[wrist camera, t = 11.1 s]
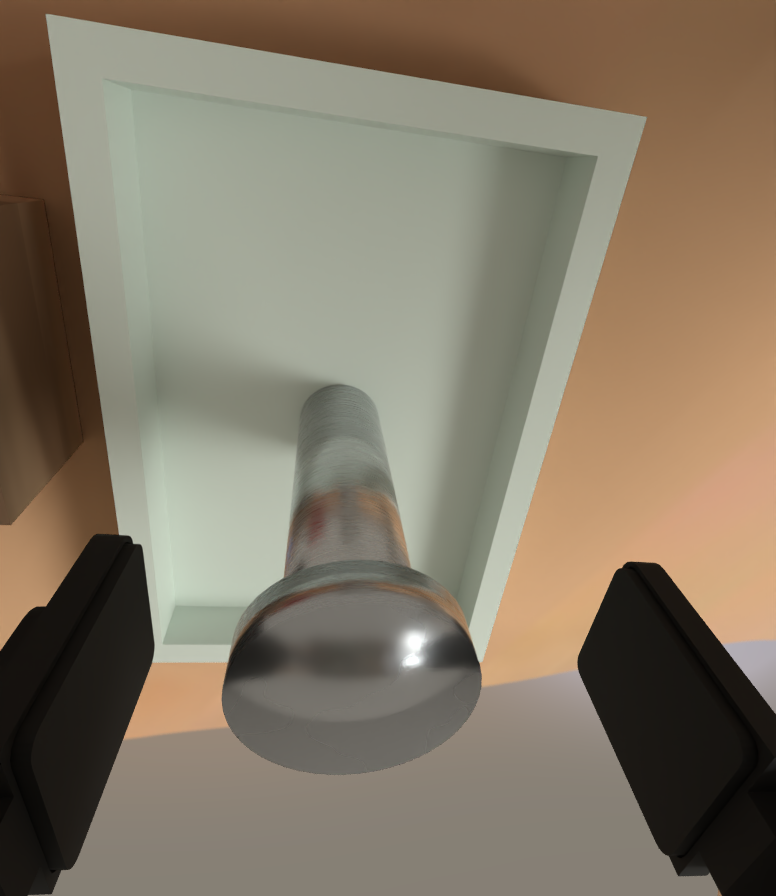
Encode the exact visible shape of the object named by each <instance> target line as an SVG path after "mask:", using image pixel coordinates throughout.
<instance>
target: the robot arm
mask: <svg viewBox="0 0 776 896" xmlns="http://www.w3.org/2000/svg"><path fill="white" fill-rule="evenodd" d="M154 649H155V642H154V635H153V627H152V619H151V611H150V603H149V595H148V587H147V579H146V571H145V563H144V555H143V548H142V546H141V544H133V540H132V538H131V536H128V535H109V534H96V535H94V536H93V537H92V538H91V539H90V541H89V543H88V544H87V546H86V547H85V549H84V550H83V552H82V553H81V555H80V556H79V558H78V559H77V561H76V562H75V564H74V565H73V567H72V568H71V570H70V571H69V573H68V574H67V576H66V577H65V579H64V580H63V582H62V583H61V585H60V586H59V588H58V589H57V591H56V592H55V594H54V595H53V597H52V598H51V600H50V601H49V603H48V604H47V606H46V607H35V608H33V609H32V610H30V611H29V612H28V613H27V614H26V616H25V617H24V618H23V619H22V621H21V622H20V624H19V625H18V626H17V628H16V629H15V631H14V632H13V634H12V635H11V637H10V638H9V639H8V641H7V642H6V644H5V645H4V647H3V648H2V649H1V651H0V896H28V895H39V894H52V892H53V890H54V887H55V884H56V882H57V880H58V877H59V875H60V872H61V870H69V869H71V868H72V867H73V865H74V864H75V862H76V860H77V858H78V856H79V853H80V851H81V848H82V846H83V843H84V840H85V838H86V835H87V832H88V830H89V827H90V824H91V822H92V819H93V817H94V814H95V811H96V809H97V806H98V804H99V801H100V798H101V796H102V793H103V790H104V788H105V785H106V783H107V780H108V777H109V775H110V772H111V769H112V767H113V764H114V761H115V759H116V756H117V754H118V751H119V748H120V746H121V743H122V741H123V738H124V735H125V733H126V730H127V727H128V725H129V722H130V719H131V717H132V714H133V712H134V709H135V706H136V704H137V701H138V698H139V696H140V693H141V691H142V688H143V685H144V683H145V680H146V677H147V675H148V672H149V670H150V667H151V664H152V661H153V657H154ZM578 670H579V673H580V676H581V678H582V681H583V683H584V685H585V687H586V689H587V692H588V694H589V696H590V698H591V700H592V703H593V705H594V707H595V709H596V711H597V714H598V716H599V718H600V720H601V722H602V725H603V727H604V729H605V731H606V734H607V735H608V738H609V740H610V742H611V745H612V747H613V749H614V751H615V753H616V756H617V758H618V760H619V762H620V764H621V767H622V769H623V771H624V773H625V775H626V778H627V780H628V782H629V784H630V786H631V788H632V791H633V793H634V795H635V798H636V800H637V802H638V804H639V806H640V809H641V811H642V813H643V815H644V817H645V820H646V822H647V824H648V826H649V828H650V831H651V833H652V835H653V837H654V839H655V842H656V844H657V845H658V847H659V849H660V850H661V851H662V852H663V853H664V854H665V855H668V856H669V857H670V859H671V862H672V864H673V866H674V868H675V870H676V873H677V875H678V876H703V875H704V876H705V875H708V874H709V873H710V874H711V876H712V877H713V880H714V881H715V883H716V885H717V887H718V895H717V896H776V714H775V713H774V711H773V710H772V709H771V708H770V706H769V705H768V704H767V702H766V701H765V700H764V699H763V697H762V696H761V695H760V693H759V692H758V691H757V689H756V688H755V687H754V686H753V685H752V683H751V682H750V680H749V679H748V678H747V676H746V675H745V674H744V673H743V671H742V670H741V669H740V667H739V666H738V665H737V663H736V662H735V661H734V660H733V658H732V657H731V656H730V654H729V653H728V652H727V651H726V649H725V648H724V647H723V645H722V644H721V643H720V641H719V640H718V639H717V638H716V636H715V635H714V634H713V632H712V631H711V630H710V629H709V627H708V626H707V625H706V623H705V622H704V621H703V619H702V618H701V617H700V616H699V614H698V613H697V612H696V610H695V609H694V608H693V606H692V605H691V604H690V603H689V601H688V600H687V599H686V597H685V596H684V595H683V594H682V592H681V591H680V590H679V588H678V587H677V586H676V584H675V583H674V582H673V581H672V579H671V578H670V577H669V575H668V574H667V573H666V572H665V570H664V569H663V568H662V567H661V566H660V565H659V564H656V563H646V562H627V563H626V564H624V566H623V567H622V568H620V569H618V570H617V571H616V572H615V574H614V576H613V578H612V581H611V583H610V585H609V588H608V590H607V592H606V594H605V597H604V599H603V601H602V603H601V606H600V608H599V610H598V612H597V615H596V617H595V619H594V622H593V624H592V626H591V628H590V631H589V633H588V635H587V637H586V640H585V642H584V644H583V646H582V649H581V651H580V653H579V656H578Z"/></svg>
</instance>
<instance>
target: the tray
mask: <svg viewBox="0 0 776 896" xmlns="http://www.w3.org/2000/svg"><path fill="white" fill-rule="evenodd" d="M46 21H47V28H48V35H49V42H50V49H51V56H52V63H53V70H54V77H55V84H56V91H57V99H58V106H59V113H60V120H61V127H62V134H63V141H64V148H65V155H66V162H67V169H68V176H69V183H70V191H71V198H72V205H73V212H74V219H75V226H76V233H77V240H78V247H79V254H80V261H81V268H82V275H83V282H84V290H85V297H86V304H87V311H88V318H89V325H90V332H91V339H92V346H93V353H94V360H95V367H96V374H97V382H98V389H99V396H100V403H101V410H102V417H103V424H104V431H105V438H106V445H107V452H108V459H109V466H110V474H111V481H112V488H113V495H114V502H115V509H116V516H117V523H118V530H119V535H128V536H131V538H132V540H133V544H141V546H142V548H143V555H144V563H145V571H146V579H147V587H148V595H149V603H150V611H151V619H152V627H153V635H154V642H155V649H154V657H153V661H152V662H228V658H229V653H230V648H231V643H232V638H233V635H234V631H235V628H236V626H237V624H238V621H239V619H240V617H241V616H242V614H243V613H244V611H245V610H246V609H247V607H248V606H249V605H250V604H251V603H252V602H253V601H254V600H255V598H256V597H257V596H258V595H260V594H261V593H262V592H263V591H265V590H266V589H267V588H268V587H270V586H271V585H273V584H275V583H276V582H278V581H279V580H281V579H283V578H284V570H285V560H286V550H287V540H288V530H289V520H290V510H291V500H292V490H293V481H294V471H295V461H296V451H297V441H298V431H299V421H300V413H301V410H302V407H303V405H304V403H305V402H306V400H307V399H308V398H309V397H310V396H311V395H312V394H313V393H315V392H316V391H317V390H319V389H321V388H324V387H326V386H330V385H337V384H339V385H349V386H353V387H355V388H358V389H360V390H361V391H363V392H364V393H366V394H367V395H368V396H369V397H370V398H371V399H372V401H373V402H374V404H375V405H376V408H377V410H378V415H379V419H380V424H381V429H382V433H383V438H384V443H385V448H386V452H387V457H388V462H389V466H390V471H391V476H392V480H393V485H394V490H395V495H396V499H397V504H398V509H399V513H400V518H401V523H402V527H403V532H404V537H405V542H406V546H407V551H408V556H409V560H410V565H411V568H412V569H414V570H417V571H419V572H421V573H423V574H426V575H427V576H429V577H431V578H432V579H434V580H435V581H437V582H438V583H440V584H441V585H442V586H443V587H444V588H446V589H447V590H448V591H449V592H450V593H451V595H452V596H453V597H454V598H455V599H456V601H457V602H458V604H459V606H460V607H461V609H462V611H463V614H464V616H465V619H466V622H467V625H468V629H469V632H470V635H471V638H472V642H473V645H474V648H475V651H476V654H477V658H478V661H479V662H482V661H483V658H484V655H485V651H486V648H487V645H488V641H489V638H490V635H491V631H492V628H493V625H494V621H495V618H496V615H497V612H498V608H499V605H500V602H501V598H502V595H503V592H504V588H505V585H506V582H507V578H508V575H509V572H510V569H511V565H512V562H513V559H514V555H515V552H516V549H517V545H518V542H519V539H520V536H521V532H522V529H523V526H524V522H525V519H526V516H527V512H528V509H529V506H530V502H531V499H532V496H533V493H534V489H535V486H536V483H537V479H538V476H539V473H540V469H541V466H542V463H543V460H544V456H545V453H546V450H547V446H548V443H549V440H550V436H551V433H552V430H553V426H554V423H555V420H556V417H557V413H558V410H559V407H560V403H561V400H562V397H563V393H564V390H565V387H566V383H567V380H568V377H569V374H570V370H571V367H572V364H573V360H574V357H575V354H576V350H577V347H578V344H579V341H580V337H581V334H582V331H583V327H584V324H585V321H586V317H587V314H588V311H589V307H590V304H591V301H592V298H593V294H594V291H595V288H596V284H597V281H598V278H599V274H600V271H601V268H602V265H603V261H604V258H605V255H606V251H607V248H608V245H609V241H610V238H611V235H612V231H613V228H614V225H615V222H616V218H617V215H618V212H619V208H620V205H621V202H622V198H623V195H624V192H625V188H626V185H627V182H628V179H629V175H630V172H631V169H632V165H633V162H634V159H635V155H636V152H637V149H638V146H639V142H640V139H641V136H642V132H643V129H644V126H645V122H646V119H647V117H644V116H639V115H633V114H627V113H621V112H615V111H609V110H604V109H598V108H592V107H586V106H580V105H575V104H569V103H563V102H557V101H551V100H545V99H540V98H534V97H528V96H522V95H516V94H511V93H505V92H499V91H493V90H487V89H482V88H476V87H470V86H464V85H458V84H452V83H447V82H441V81H435V80H429V79H423V78H418V77H412V76H406V75H400V74H394V73H388V72H383V71H377V70H371V69H365V68H359V67H354V66H348V65H342V64H336V63H330V62H324V61H319V60H313V59H307V58H301V57H295V56H290V55H284V54H278V53H272V52H266V51H261V50H255V49H249V48H243V47H237V46H231V45H226V44H220V43H214V42H208V41H202V40H197V39H191V38H185V37H179V36H173V35H167V34H162V33H156V32H150V31H144V30H138V29H133V28H127V27H121V26H115V25H109V24H104V23H98V22H92V21H86V20H80V19H74V18H69V17H63V16H57V15H51V14H46Z"/></svg>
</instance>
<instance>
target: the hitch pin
mask: <svg viewBox="0 0 776 896" xmlns="http://www.w3.org/2000/svg"><path fill="white" fill-rule="evenodd" d="M481 679H482V675H481V669H480V664H479V661H478V658H477V654H476V651H475V648H474V645H473V642H472V638H471V635H470V632H469V629H468V625H467V622H466V619H465V616H464V614H463V611H462V609H461V607H460V606H459V604H458V602H457V601H456V599H455V598H454V597H453V596H452V595H451V593H450V592H449V591H448V590H447V589H446V588H444V587H443V586H442V585H441V584H440V583H438V582H437V581H435V580H434V579H432V578H431V577H429V576H427V575H426V574H423V573H421V572H419V571H417V570H414V569H412V568H411V565H410V560H409V556H408V551H407V546H406V542H405V537H404V532H403V527H402V523H401V518H400V513H399V509H398V504H397V499H396V495H395V490H394V485H393V480H392V476H391V471H390V466H389V462H388V457H387V452H386V448H385V443H384V438H383V433H382V429H381V424H380V419H379V415H378V410H377V408H376V405H375V404H374V402H373V401H372V399H371V398H370V397H369V396H368V395H367V394H366V393H364V392H363V391H361V390H360V389H358V388H355V387H353V386H349V385H339V384H337V385H330V386H326V387H324V388H321V389H319V390H317V391H316V392H315V393H313V394H312V395H311V396H310V397H309V398H308V399H307V400H306V402H305V403H304V405H303V407H302V410H301V413H300V421H299V431H298V441H297V451H296V461H295V471H294V481H293V490H292V500H291V510H290V520H289V530H288V540H287V550H286V560H285V570H284V578H283V579H281V580H279V581H278V582H276V583H275V584H273V585H271V586H270V587H268V588H267V589H266V590H265V591H263V592H262V593H261V594H260V595H258V596H257V597H256V598H255V600H254V601H253V602H252V603H251V604H250V605H249V606H248V607H247V609H246V610H245V611H244V613H243V614H242V616H241V617H240V619H239V621H238V624H237V626H236V628H235V631H234V635H233V638H232V643H231V648H230V653H229V658H228V663H227V669H226V674H225V679H224V684H223V689H222V706H223V712H224V715H225V718H226V721H227V723H228V725H229V727H230V728H231V730H232V732H233V733H234V734H235V735H236V737H237V738H238V739H239V740H240V741H241V742H242V743H243V744H244V745H245V746H246V747H248V748H249V749H250V750H251V751H253V752H254V753H256V754H257V755H259V756H261V757H263V758H265V759H267V760H269V761H271V762H273V763H275V764H278V765H281V766H283V767H286V768H290V769H294V770H298V771H303V772H309V773H315V774H327V775H346V774H360V773H367V772H374V771H378V770H383V769H387V768H391V767H394V766H397V765H400V764H403V763H406V762H408V761H411V760H413V759H415V758H418V757H420V756H422V755H424V754H426V753H428V752H430V751H431V750H433V749H435V748H436V747H438V746H439V745H441V744H442V743H444V742H445V741H446V740H448V739H449V738H450V737H451V736H453V735H454V734H455V733H456V732H457V731H458V730H459V729H460V728H461V727H462V725H463V724H464V723H465V722H466V720H467V719H468V718H469V716H470V715H471V713H472V711H473V710H474V708H475V706H476V703H477V701H478V698H479V695H480V690H481Z"/></svg>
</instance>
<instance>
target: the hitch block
mask: <svg viewBox="0 0 776 896" xmlns="http://www.w3.org/2000/svg"><path fill="white" fill-rule="evenodd" d="M82 443H83V436H82V430H81V424H80V418H79V412H78V406H77V400H76V394H75V388H74V382H73V375H72V369H71V363H70V357H69V351H68V345H67V339H66V333H65V327H64V321H63V314H62V308H61V302H60V296H59V290H58V284H57V278H56V272H55V266H54V260H53V254H52V247H51V241H50V235H49V229H48V223H47V217H46V211H45V205H44V200H42V199H33V198H25V197H17V196H9V195H1V194H0V525H11V524H12V523H13V522H14V521H15V520H16V519H17V517H18V516H19V515H20V514H21V513H22V512H23V511H24V509H25V508H26V507H27V506H28V505H29V504H30V503H31V501H32V500H33V499H34V498H35V497H36V496H37V495H38V493H39V492H40V491H41V490H42V489H43V488H44V486H45V485H46V484H47V483H48V482H49V481H50V480H51V478H52V477H53V476H54V475H55V474H56V473H57V472H58V470H59V469H60V468H61V467H62V466H63V465H64V464H65V462H66V461H67V460H68V459H69V458H70V457H71V456H72V454H73V453H74V452H75V451H76V450H77V449H78V447H79V446H80V445H81V444H82Z"/></svg>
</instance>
